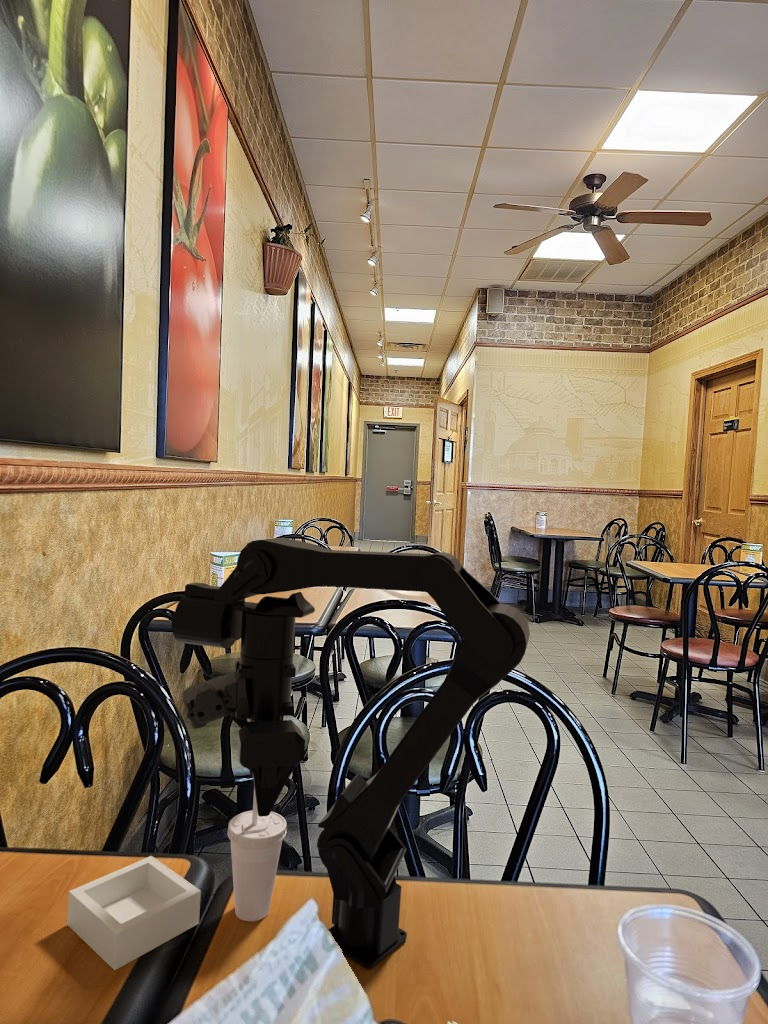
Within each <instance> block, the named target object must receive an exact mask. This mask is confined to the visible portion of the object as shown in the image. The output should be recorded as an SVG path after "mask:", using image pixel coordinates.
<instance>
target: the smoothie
mask: <svg viewBox="0 0 768 1024" xmlns="http://www.w3.org/2000/svg"><path fill="white" fill-rule="evenodd" d="M252 803H253V805H252V810H247V811H243V812H241V813H239V814H236V815H235V816H233V817H232V818H231V819H230V820H229V822H228V825H227V826H228V828H227V837H228V839H229V840H230V855H231V868H232V881H233V883H232V884H233V886H232V887H233V897H234V898H233V903H234V913H235V916H236V917H237V919H239V920H241V921H245V922H257V921H260V920H263V919H265V918H266V917H267V916H268V914H269V913H270V910H271V909H270V908H271V903H272V898H273V893H274V887H275V882H276V877H277V872H278V871H277V870H278V865H279V860H280V855H281V850H282V844H283V840H284V838H285V837H286V835H287V834H288V833H287V830H288V829H287V820H286V819H285V817H284V816H282V815H281V814H279V813H277V812H275V811H271V812H270V814H269V815H268V816H262V817H260V816H258V811H257V803H256V796H255V788H254V787H253V801H252Z"/></svg>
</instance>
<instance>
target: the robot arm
mask: <svg viewBox="0 0 768 1024" xmlns="http://www.w3.org/2000/svg"><path fill="white" fill-rule="evenodd" d="M316 587H317V588H318V587H335V588H350V589H351V588H352V589H356V588H357V589H369V590H370V589H371V590H386V591H387V590H390V591H407V592H409V591H410V592H421V593H422V592H423V593H427V594H428V595H429V596H430V597H431V598H432V599H433V601H434V602H435V603H436V605H437V606H438V608H439V610H440V611H441V612H442V614H443V616H444V617H445V618H446V619H447V621H448V623H449V624H450V625H451V626H452V628H453V629H454V630H455V631H456V632H457V634H458V635H460V638H461V637H462V640H461V642H460V644H459V646H458V649H457V651H456V652H455V655H454V657H453V660H452V662H451V664H450V667H449V669H448V671H447V673H446V676H445V678H444V680H443V681H442V683H441V685H440V686H439V687H438V689H437V690H436V692H435V693H434V694H433V695H432V697H431V699H430V700H429V701H428V703H426V705H425V706H424V708H423V709H422V711H420V713H419V715H418V716H417V718H416V719H415V721H414V722H413V723H412V725H411V726H410V728H409V729H408V730H407V731H406V733H405V734H404V736H403V737H402V739H401V740H400V741H399V743H398V744H397V746H396V747H395V748H394V750H393V751H392V753H391V754H390V755H389V756H388V758H387V759H386V761H384V764H383V765H382V766H381V768H380V769H379V770H378V771H377V773H375V775H373V776H372V777H370V778H369V779H368V780H367V781H366V780H365V779H364V777H362V775H361V774H360V773H359V772H358V773H356V774H355V776H354V777H353V778H352V780H351V781H350V782H349V783H348V785H347V786H346V787H345V788H344V789H343V790H342V792H341V793H340V794H339V796H338V798H337V799H336V801H335V803H334V804H333V805H332V806H331V808H330V809H329V810H328V811H327V813H326V814H325V815H324V816H323V818H322V819H321V820H320V822H318V825H317V826H318V828H321V829H322V831H321V832H320V834H319V835H318V838H317V841H316V847H317V851H318V856H319V858H320V861H321V863H322V864H323V866H324V867H325V868H326V870H327V874H328V878H329V881H330V885H331V890H332V893H333V894H332V895H333V896H332V910H331V912H332V913H331V924H332V925H333V926H332V927H330V928H329V929H327V930H329V931H330V932H331V934H332V936H333V937H334V939H335V941H336V942H337V943H338V945H339V946H340V948H341V949H342V951H343V954H344V955H345V956H347V957H349V958H350V959H352V960H353V961H355V962H356V963H358V964H359V965H361V966H362V967H364V968H366V969H372V968H373V967H374V966H376V965H378V963H379V962H381V961H382V960H383V959H384V958H385V957H387V956H388V955H389V954H390V953H391V952H393V951H394V950H396V948H398V947H399V946H400V945H401V944H402V943H404V942H405V941H406V940H407V936H408V933H407V931H406V930H404V929H402V928H400V926H399V925H400V917H401V916H400V915H401V914H400V912H401V900H402V899H401V896H402V885H401V884H399V883H397V880H396V878H395V876H396V873H397V872H398V871H397V870H399V866H400V865H401V862H402V860H403V858H404V856H405V853H406V852H407V847H406V845H405V844H404V842H402V840H401V839H400V837H399V836H398V835H397V834H396V832H395V831H394V830H393V829H392V827H391V825H392V822H393V820H394V819H395V816H396V814H397V812H398V811H399V807H400V805H401V803H402V802H403V800H404V799H405V797H407V795H408V793H409V792H410V790H412V788H413V787H414V785H415V784H416V782H417V781H418V779H420V777H421V775H422V774H423V773H424V771H425V770H426V769H427V767H428V766H429V765H430V763H431V762H432V761H433V760H434V758H435V757H436V755H437V754H438V752H439V751H440V750H441V748H443V746H444V744H445V743H446V742H447V741H448V739H449V738H450V736H451V735H452V734H453V732H454V730H455V729H456V728H457V727H458V726H459V724H460V722H461V721H462V719H463V718H464V717H465V716H466V715H467V713H468V711H469V710H470V709H471V708H472V706H473V705H474V704H475V703H476V702H477V701H478V700H480V699H481V698H482V697H483V696H485V695H486V694H487V693H488V692H490V691H491V690H492V689H494V688H495V687H496V686H497V685H498V684H499V683H500V682H501V681H502V680H503V679H505V678H506V677H507V676H509V674H510V673H511V672H512V671H513V670H514V669H515V668H517V667H518V666H519V664H520V663H521V662H522V660H523V658H524V656H525V655H526V651H527V648H528V643H529V639H530V633H531V631H530V626H529V622H528V620H527V619H526V617H525V615H524V613H522V612H521V611H520V610H519V609H518V608H516V607H515V606H512V605H511V604H507V603H506V604H505V603H501V602H500V601H499V600H498V599H497V597H495V596H494V594H493V593H492V592H491V591H490V590H489V589H488V588H486V587H485V586H484V585H483V584H482V583H481V582H480V581H479V580H478V579H477V578H476V577H474V576H473V575H472V574H470V572H468V571H467V570H466V568H465V567H464V566H463V565H462V564H461V563H460V561H459V559H458V558H457V557H456V556H454V554H451V553H449V552H445V551H440V552H436V553H417V552H416V553H415V552H414V553H413V552H412V553H411V552H410V553H409V552H388V551H387V552H386V551H364V550H363V551H361V550H359V551H358V550H342V549H341V550H339V549H337V550H336V549H335V550H334V549H330V548H325V547H322V546H319V545H317V544H313V543H310V542H306V541H301V540H296V539H294V538H288V537H278V538H277V537H276V538H266V539H265V538H264V539H255V540H252V541H249V542H247V543H246V545H245V546H244V547H243V548H242V549H241V551H240V552H239V554H238V557H237V561H236V566H235V568H234V569H233V570H232V571H231V573H230V574H229V575H228V577H227V578H226V579H225V580H224V582H223V583H222V584H221V586H219V585H218V586H217V585H209V584H207V583H205V582H204V583H203V582H191V583H187V584H185V585H184V594H183V596H182V597H181V598H180V599H179V601H178V603H177V604H176V607H175V610H174V614H173V615H171V630H172V634H173V637H174V639H175V640H176V641H177V642H179V643H181V644H182V643H183V644H189V645H197V646H206V647H212V648H219V649H230V648H231V647H232V646H234V644H235V643H236V642H237V641H239V640H240V650H239V651H240V652H239V657H237V660H235V662H234V671H233V672H230V673H226V674H225V675H219V676H216V677H213V678H211V679H208V680H206V681H203V682H200V683H196V684H194V685H191V686H189V687H187V688H186V689H184V690H183V692H182V703H183V705H184V708H185V710H186V711H185V712H186V716H187V719H188V722H189V724H190V727H191V729H194V730H197V729H200V728H201V729H202V728H204V727H206V726H207V724H209V723H211V722H215V721H217V720H219V719H222V718H224V717H227V716H231V720H232V721H233V722H234V723H235V724H236V725H237V726H238V727H239V728H240V729H239V730H238V731H237V754H238V755H237V756H238V761H239V764H240V765H241V766H242V767H243V768H246V769H247V770H248V771H249V776H250V778H251V779H253V789H254V788H255V796H256V803H257V811H258V816H260V817H262V816H268V815H269V814H270V812H273V811H272V810H273V809H274V807H275V805H276V803H277V800H278V799H279V797H280V795H281V793H282V791H283V789H284V788H285V785H286V783H287V782H288V780H289V778H290V777H291V775H292V773H293V772H294V770H295V768H296V766H298V765H300V764H301V761H304V760H305V750H306V749H305V748H306V739H305V737H304V735H303V733H302V730H301V728H300V727H299V726H298V725H297V724H296V723H295V722H294V721H293V720H292V719H288V720H287V719H284V716H286V717H290V716H294V707H295V706H294V704H293V702H292V698H291V697H292V683H293V682H292V681H293V678H296V673H297V672H296V670H297V667H296V665H295V664H294V650H295V649H294V648H295V646H294V645H295V634H296V633H295V630H296V618H297V619H298V618H299V619H301V618H304V617H307V616H309V615H312V614H313V613H314V612H315V611H316V607H314V606H313V605H312V603H310V602H309V601H308V600H307V599H306V598H305V597H304V595H303V592H301V591H298V592H294V593H291V594H290V595H289V597H282V596H281V597H278V596H272V595H271V596H270V595H269V594H276V593H283V592H284V593H285V592H292V591H297V590H303V589H310V588H316ZM258 595H266V596H264V597H262V598H261V599H260V600H259V601H258V602H254V601H253V602H252V601H246V599H247V598H252V597H256V596H258ZM283 719H284V720H283Z"/></svg>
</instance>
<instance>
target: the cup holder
mask: <svg viewBox="0 0 768 1024" xmlns="http://www.w3.org/2000/svg"><path fill="white" fill-rule="evenodd" d="M201 895H202V890H201V889H199V888H198V887H197V886H195V885H194V884H192V883H190V882H189V881H188V880H186V879H185V878H184V877H182V876H181V875H180V874H178V873H177V872H175V871H173V870H172V869H171V868H169V867H168V866H167V865H165V864H164V863H162V861H159V860H158V859H157V858H155V857H154V856H153V855H150V856H147V857H145V858H142V859H141V860H138V861H136V862H133V863H131V864H129V865H127V866H125V867H122V868H119V869H118V870H115V871H112V872H111V873H108V874H106V875H104V876H101V877H99V878H96V879H95V880H92V881H90V882H87V883H84V884H82V885H80V886H78V887H76V888H74V889H71V890H69V891H68V901H67V905H68V906H67V920H66V922H67V923H66V925H67V927H69V928H70V929H71V930H72V931H73V932H74V933H75V934H76V935H77V936H78V937H79V938H80V939H81V940H82V941H83V942H85V944H87V945H88V947H90V949H92V950H93V951H94V953H96V954H97V955H98V956H99V957H100V958H101V959H102V960H103V961H104V962H105V963H106V964H107V965H108V966H109V967H110V968H111V969H112V970H113V971H116V970H118V969H120V968H122V967H125V965H127V964H130V963H131V962H133V961H134V960H136V959H137V958H140V957H142V956H143V955H145V954H147V953H149V952H150V951H152V950H154V949H156V948H158V947H160V946H161V945H162V944H164V943H167V942H168V941H170V940H172V939H174V938H175V937H177V936H179V935H181V934H183V933H185V932H186V931H188V930H190V929H192V928H194V927H195V926H198V925H199V924H200V915H201V914H200V911H201V910H200V909H201V899H202V898H201V897H202V896H201Z"/></svg>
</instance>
